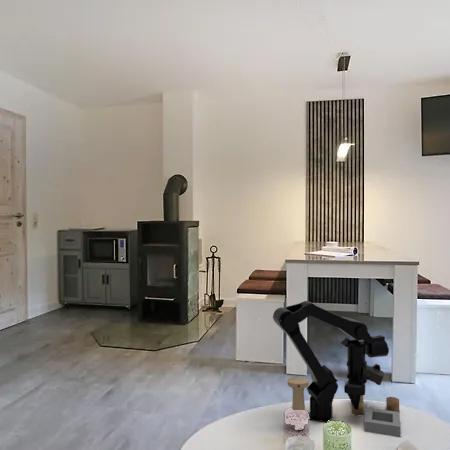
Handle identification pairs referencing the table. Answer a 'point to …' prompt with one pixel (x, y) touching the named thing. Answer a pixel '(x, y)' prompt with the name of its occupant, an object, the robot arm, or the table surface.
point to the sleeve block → (382, 422)
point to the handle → (298, 392)
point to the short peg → (392, 404)
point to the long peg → (360, 408)
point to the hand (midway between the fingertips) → (357, 405)
